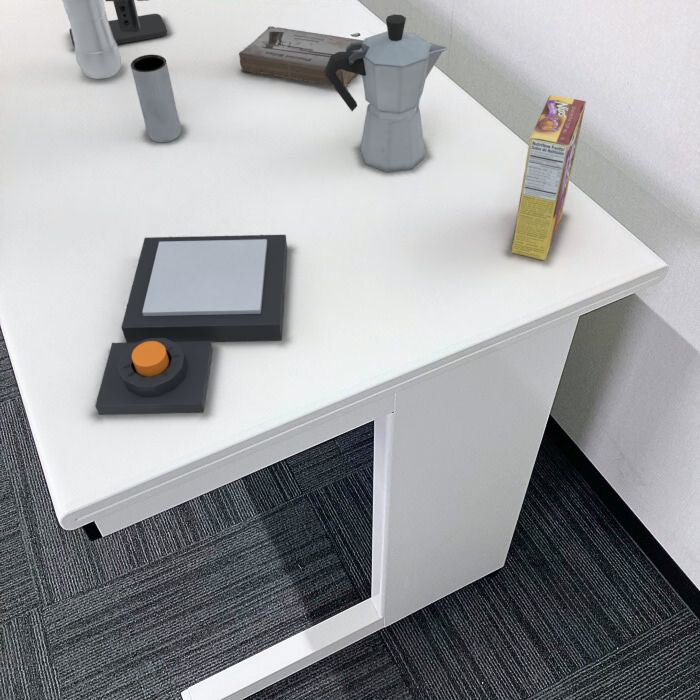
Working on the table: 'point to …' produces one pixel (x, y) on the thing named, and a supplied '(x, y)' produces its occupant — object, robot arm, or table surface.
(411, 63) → the coffee maker
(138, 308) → the scale
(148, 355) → the tare button
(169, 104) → the grey hollow tube
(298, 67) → the box
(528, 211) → the candy box
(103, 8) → the plastic bottle
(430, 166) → the table surface
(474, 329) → the table surface
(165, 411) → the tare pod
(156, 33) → the phone
